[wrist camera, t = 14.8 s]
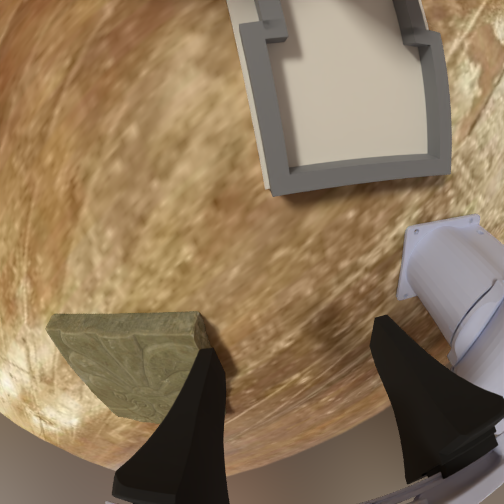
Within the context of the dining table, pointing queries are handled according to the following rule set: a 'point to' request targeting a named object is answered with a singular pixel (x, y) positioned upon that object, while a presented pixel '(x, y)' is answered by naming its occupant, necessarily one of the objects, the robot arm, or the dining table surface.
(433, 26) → the dining table surface
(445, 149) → the grey flat framed piece
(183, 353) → the olive stone flat slab
